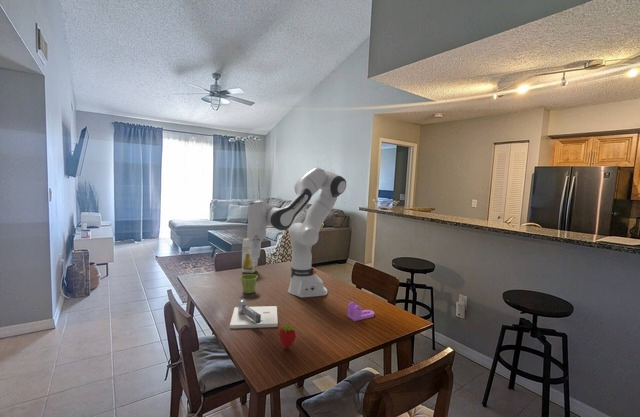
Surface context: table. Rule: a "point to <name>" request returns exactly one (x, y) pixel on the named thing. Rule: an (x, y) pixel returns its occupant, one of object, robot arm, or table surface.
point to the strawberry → (287, 336)
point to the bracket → (358, 312)
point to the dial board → (244, 321)
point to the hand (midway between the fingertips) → (256, 262)
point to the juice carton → (247, 257)
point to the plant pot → (249, 282)
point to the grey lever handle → (248, 311)
